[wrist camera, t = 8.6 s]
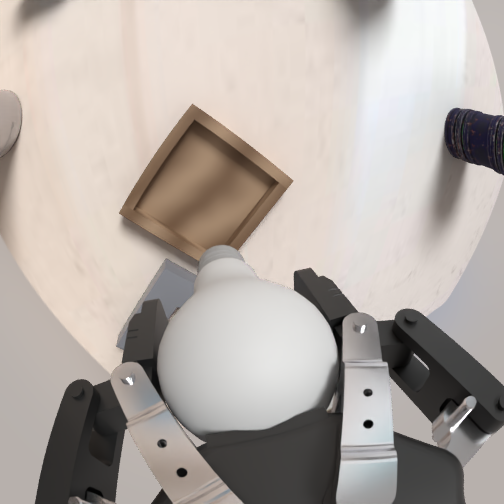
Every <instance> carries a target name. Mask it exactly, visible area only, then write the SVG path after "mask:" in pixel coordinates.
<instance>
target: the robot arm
mask: <svg viewBox="0 0 504 504" xmlns="http://www.w3.org/2000/svg"><path fill="white" fill-rule="evenodd" d="M21 119H22V110H21V104H20V101H19V99H18V97H17V96H16V94H15V93H13V92H12V91H8V90H0V157H2V156H3V155H5V154H6V153H7V152H8V151H9V150H10V149H11V147H12V146H13V145H14V143H15V141H16V139H17V136H18V133H19V131H20V126H21ZM294 291H296V292H297V293H299V294H300V295H302V296H303V297H305V298H306V299H307V300H308V301H310V302H311V303H312V304H313V305H315V307H316V308H317V309H318V310H319V311H320V313H321V314H322V315H323V316H324V318H325V319H326V321H327V322H328V324H329V326H330V328H331V331H332V333H333V336H334V339H335V342H336V345H337V348H338V356H339V376H338V382H337V386H336V390H335V393H334V395H333V405H332V410H331V413H327V411H326V409H325V407H321V408H318V409H315V410H312V411H309V412H306V413H303V414H299V415H296V416H294V417H293V418H291V419H289V420H287V421H285V422H284V423H282V424H280V425H278V426H276V427H274V428H272V429H270V430H262V431H238V430H235V431H230V432H224V433H219V434H212V435H206V440H207V443H205V444H203V445H201V446H199V447H196V446H195V444H194V443H193V442H192V441H191V439H190V438H189V437H188V435H187V434H186V433H185V431H184V430H183V428H182V427H181V426H180V424H179V423H178V421H177V420H176V419H175V417H174V416H173V414H172V413H171V411H170V410H169V408H168V407H167V405H166V402H165V399H164V397H163V395H162V391H161V387H160V383H159V378H158V373H157V357H158V350H159V345H160V342H161V340H162V337H163V334H164V332H165V330H166V328H167V325H168V323H169V322H168V319H167V317H166V314H165V311H164V308H163V306H162V303H161V301H160V299H153V300H147V301H143V304H142V309H141V313H138V314H134V316H133V317H132V319H131V320H130V321H129V325H128V330H127V331H128V332H127V335H126V341H125V346H124V352H123V358H122V364H121V365H119V366H118V367H116V368H115V369H114V371H113V372H112V374H111V378H110V380H108V381H106V382H103V383H100V384H98V385H95V386H93V385H92V384H91V383H90V382H89V381H87V380H84V379H81V380H76V381H74V382H72V383H71V384H70V385H69V386H68V387H67V389H66V391H65V393H64V396H63V399H62V401H61V404H60V407H59V410H58V413H57V416H56V419H55V422H54V425H53V429H52V432H51V435H50V439H49V442H48V446H47V449H46V453H45V457H44V461H43V465H42V470H41V474H40V479H39V484H38V489H37V495H36V501H35V504H116V503H115V498H116V488H117V480H118V472H119V463H120V457H121V451H122V444H123V439H124V433H125V429H128V430H129V432H130V434H131V436H132V438H133V440H134V442H135V444H136V445H137V447H138V449H139V451H140V453H141V455H142V456H143V458H144V459H145V461H146V463H147V465H148V467H149V468H150V470H151V471H152V473H153V475H154V476H155V478H156V479H157V481H158V482H159V484H160V485H161V487H162V489H161V491H160V492H159V494H158V495H157V496H156V498H155V499H154V500H153V502H152V503H151V504H466V503H465V499H464V487H463V486H464V473H463V467H464V466H465V465H466V464H467V462H469V460H470V459H471V458H472V457H473V456H474V455H475V454H476V453H477V451H478V450H479V449H480V448H481V446H482V445H483V444H484V443H485V442H486V440H488V439H489V438H490V437H491V436H492V435H493V434H494V433H496V432H497V431H498V430H499V429H500V428H501V427H502V426H503V425H504V386H503V385H502V384H501V383H500V382H499V381H498V380H497V379H496V378H495V377H494V376H493V375H492V374H491V373H490V372H489V371H488V370H486V369H485V368H484V367H483V366H482V365H481V364H480V363H479V362H478V361H477V360H475V359H474V358H473V357H472V356H471V355H470V354H469V353H468V352H466V351H465V350H464V349H463V348H462V347H461V346H460V345H458V344H457V343H456V342H455V341H454V340H453V339H451V338H450V337H449V336H448V335H447V334H446V333H444V332H443V331H442V330H441V329H440V328H438V327H437V326H436V325H435V324H433V323H432V322H431V321H430V320H429V319H428V318H426V317H425V316H424V315H423V314H421V313H420V312H418V311H416V310H414V309H402V310H400V311H399V312H397V314H396V316H395V319H394V320H387V321H376V320H375V319H374V318H373V317H372V316H370V315H368V314H366V313H360V312H358V311H357V310H356V309H355V308H354V306H353V305H352V304H351V303H350V301H349V300H348V299H347V298H346V297H345V295H344V294H342V292H341V291H340V289H338V287H337V286H336V285H335V283H334V282H333V281H332V280H330V279H328V278H326V277H325V276H320V277H318V276H317V275H316V273H315V272H314V271H313V270H312V269H311V268H307V269H302V270H298V271H295V272H294ZM414 353H415V354H416V355H417V356H418V357H419V358H420V359H421V360H422V361H423V362H424V363H425V364H426V365H427V366H428V368H429V370H428V369H427V368H426V367H425V366H424V365H423V364H422V363H421V362H420V361H419V360H418V359H417V358H416V357H415V356H414V355H413V354H414ZM389 376H390V377H391V378H392V379H393V380H394V382H396V384H397V385H398V386H399V387H400V388H401V389H402V390H403V391H404V392H405V394H406V395H407V396H408V397H409V398H410V399H411V400H412V401H413V402H414V404H415V405H416V406H417V407H418V408H419V409H420V410H421V411H422V412H423V414H424V415H425V416H426V417H427V418H428V419H429V420H430V421H431V422H432V433H433V436H432V439H433V440H434V441H435V442H437V444H438V447H436V446H433V445H430V444H427V443H424V442H421V441H419V440H416V439H413V438H410V437H407V436H405V435H402V434H399V433H397V432H394V431H393V415H392V399H391V389H390V377H389Z"/></svg>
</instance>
